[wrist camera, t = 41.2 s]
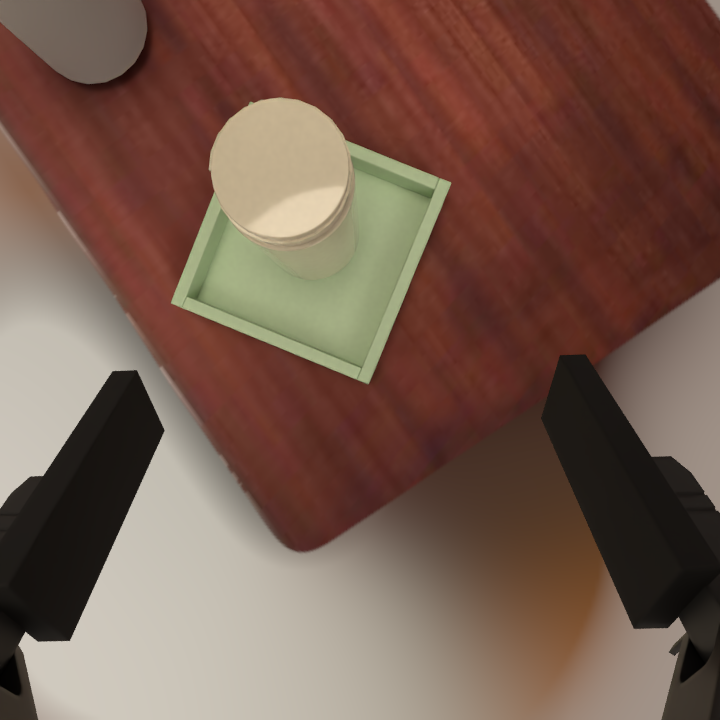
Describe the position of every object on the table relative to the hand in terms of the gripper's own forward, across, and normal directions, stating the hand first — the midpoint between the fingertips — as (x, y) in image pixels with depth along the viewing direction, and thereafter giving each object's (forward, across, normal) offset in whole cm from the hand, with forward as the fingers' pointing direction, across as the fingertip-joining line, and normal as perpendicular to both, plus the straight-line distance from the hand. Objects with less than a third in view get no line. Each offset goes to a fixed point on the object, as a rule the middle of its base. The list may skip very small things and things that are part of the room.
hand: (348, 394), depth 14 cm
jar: (+18, -3, -2) cm, 18 cm away
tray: (+18, -3, -3) cm, 18 cm away
